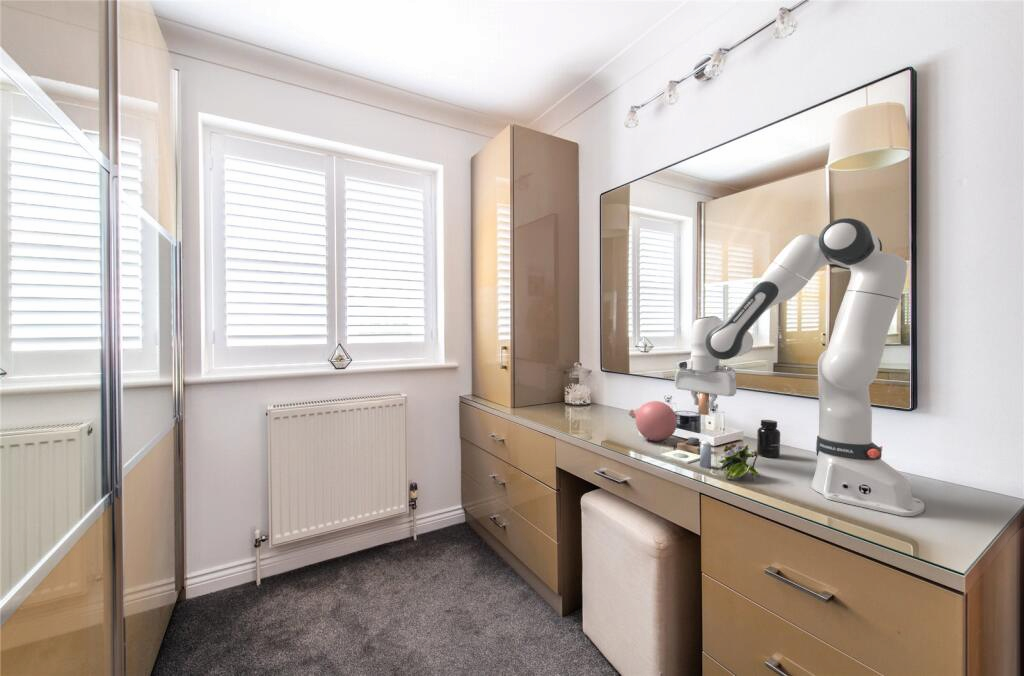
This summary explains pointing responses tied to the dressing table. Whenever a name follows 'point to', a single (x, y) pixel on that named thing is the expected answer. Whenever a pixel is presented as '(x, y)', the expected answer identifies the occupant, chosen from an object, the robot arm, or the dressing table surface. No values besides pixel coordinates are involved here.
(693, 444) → the button
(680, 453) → the sketch pad
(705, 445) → the cylinder
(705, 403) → the cylinder
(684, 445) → the button block
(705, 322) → the robot arm
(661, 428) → the pink balloon
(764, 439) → the supplement bottle
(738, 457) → the passion flower
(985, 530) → the dressing table surface
